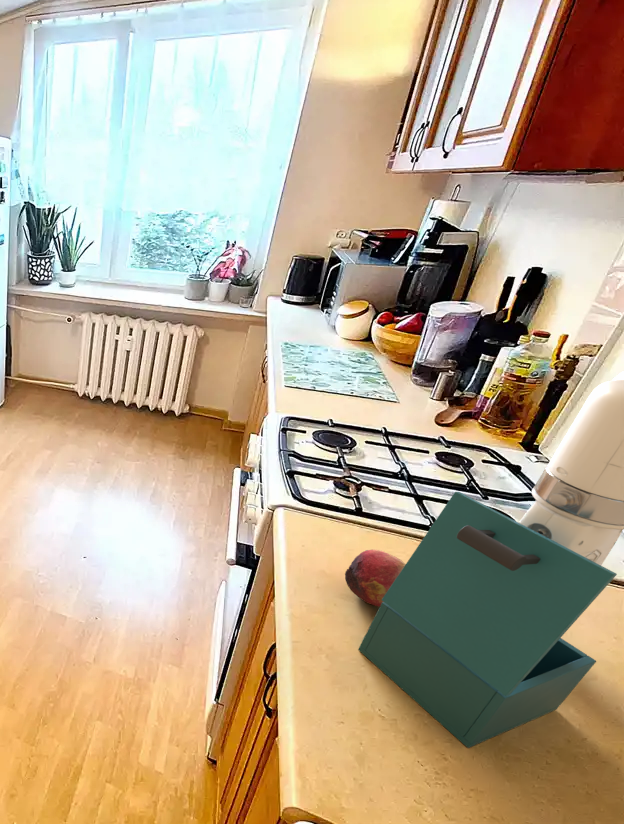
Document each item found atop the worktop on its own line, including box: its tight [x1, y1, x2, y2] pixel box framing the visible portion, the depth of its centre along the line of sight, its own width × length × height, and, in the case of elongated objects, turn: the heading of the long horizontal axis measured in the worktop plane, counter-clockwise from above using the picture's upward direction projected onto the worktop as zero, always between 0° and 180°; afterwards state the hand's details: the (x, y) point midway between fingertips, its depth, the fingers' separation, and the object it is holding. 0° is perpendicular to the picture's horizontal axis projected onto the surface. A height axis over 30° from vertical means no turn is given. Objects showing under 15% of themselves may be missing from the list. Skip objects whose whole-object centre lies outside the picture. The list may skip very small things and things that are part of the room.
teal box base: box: [357, 602, 597, 749], centre depth 64 cm, size 16×14×9 cm
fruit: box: [344, 549, 406, 608], centre depth 76 cm, size 8×8×8 cm
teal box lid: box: [382, 491, 618, 696], centre depth 56 cm, size 16×14×6 cm
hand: (505, 617), depth 63 cm, fingers closed on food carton, 5 cm apart
